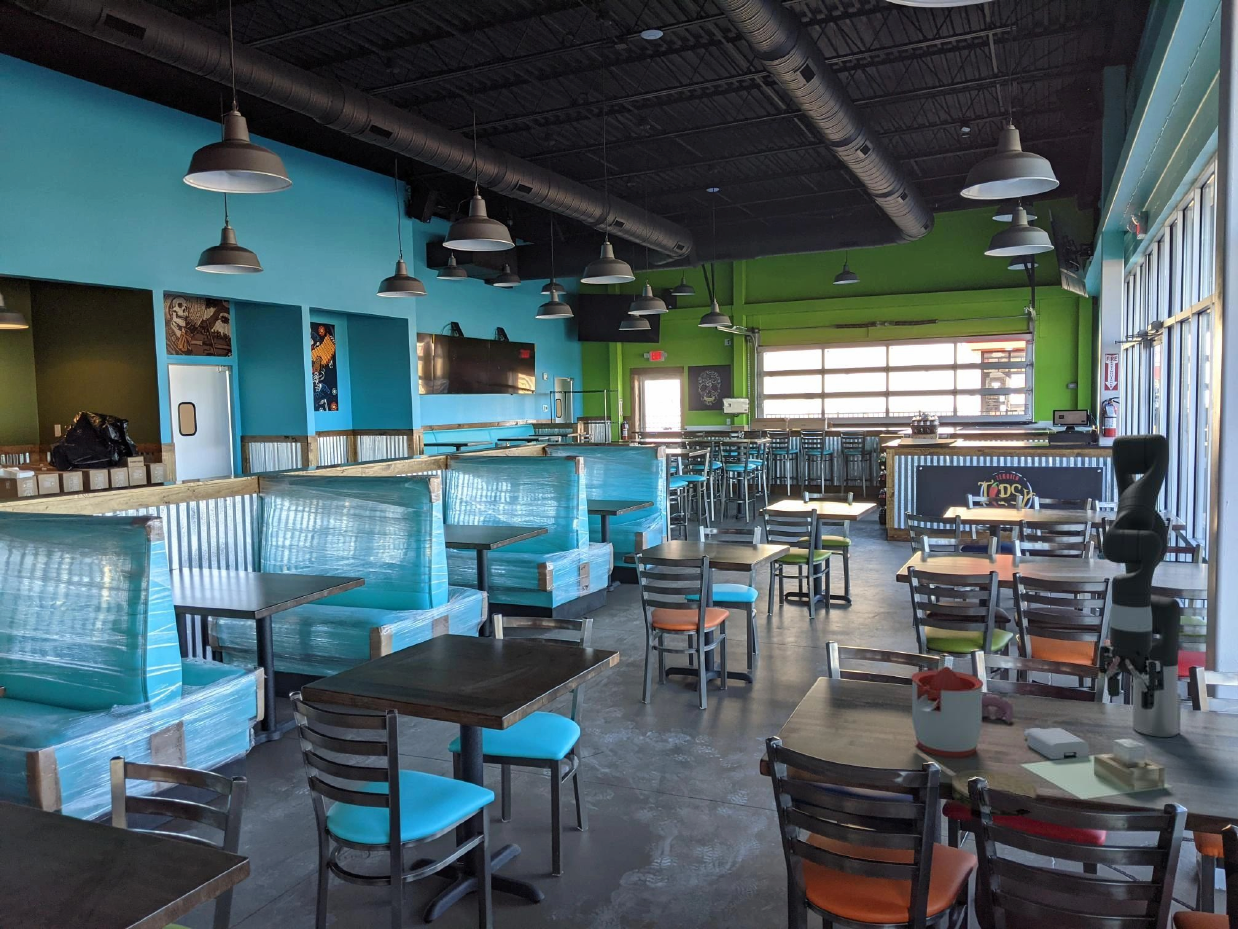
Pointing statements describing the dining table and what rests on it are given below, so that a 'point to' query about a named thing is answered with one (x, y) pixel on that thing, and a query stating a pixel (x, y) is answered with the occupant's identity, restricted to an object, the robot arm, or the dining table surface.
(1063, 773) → the board
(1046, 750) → the charger
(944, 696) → the citrus juicer
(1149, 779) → the shallow wooden crate
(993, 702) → the video game controller
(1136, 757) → the peg
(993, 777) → the olive brown round disc
